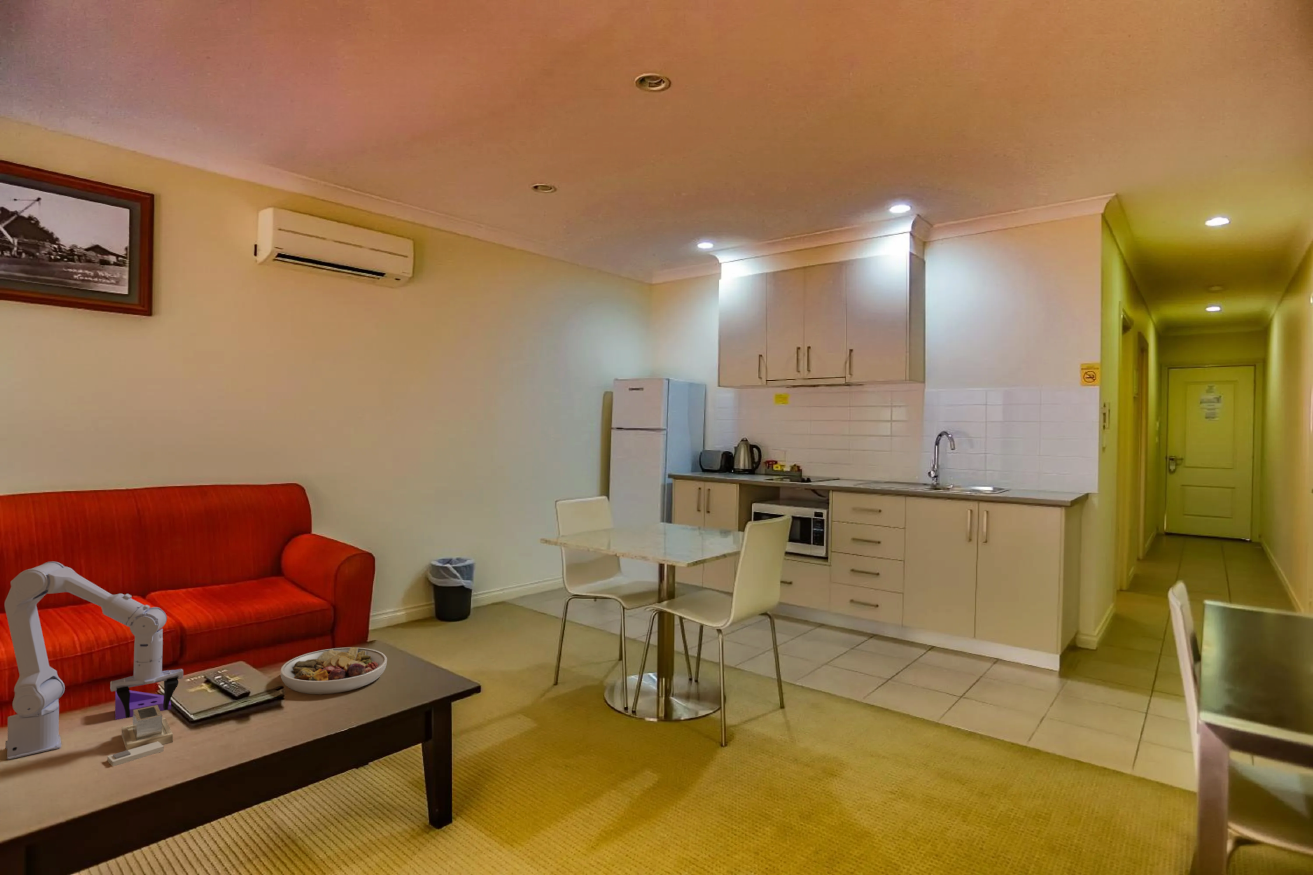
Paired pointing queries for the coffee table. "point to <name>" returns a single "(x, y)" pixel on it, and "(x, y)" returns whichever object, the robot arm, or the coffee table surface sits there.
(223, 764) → the coffee table surface
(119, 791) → the coffee table surface
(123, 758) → the block
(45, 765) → the coffee table surface
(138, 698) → the bracket
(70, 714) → the coffee table surface
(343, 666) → the bowl
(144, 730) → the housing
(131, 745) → the beige shallow tray
